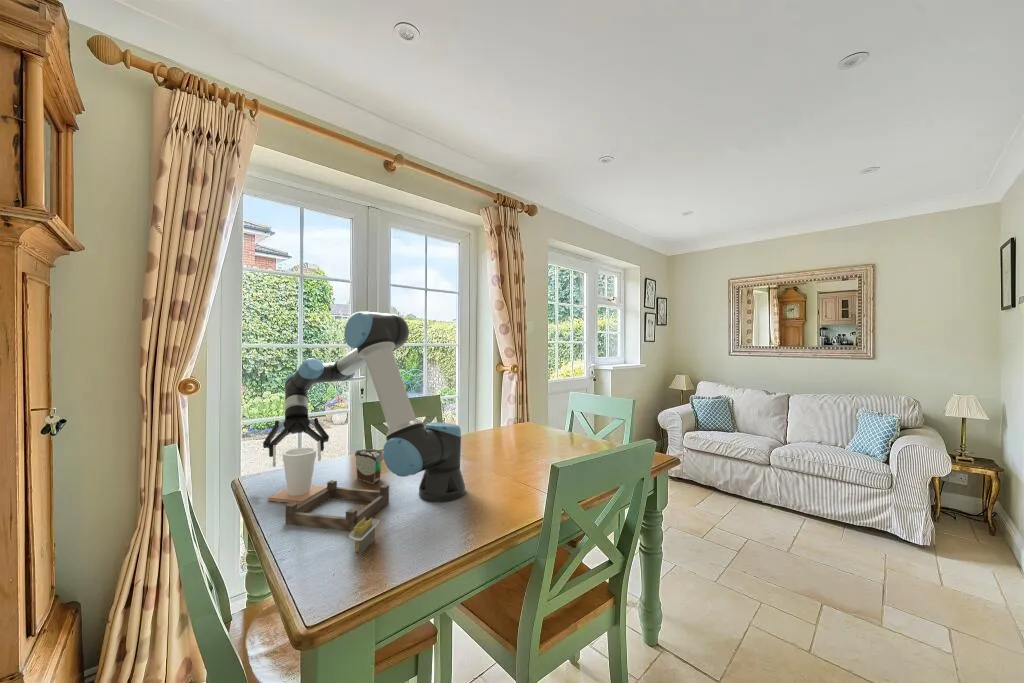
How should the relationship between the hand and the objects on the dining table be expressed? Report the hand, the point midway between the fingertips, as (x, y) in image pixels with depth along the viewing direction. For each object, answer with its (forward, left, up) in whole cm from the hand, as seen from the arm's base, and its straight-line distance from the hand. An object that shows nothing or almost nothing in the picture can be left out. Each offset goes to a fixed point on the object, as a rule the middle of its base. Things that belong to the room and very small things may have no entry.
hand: (297, 461), depth 135 cm
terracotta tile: (-6, +6, -9) cm, 12 cm away
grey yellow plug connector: (-43, +31, -9) cm, 53 cm away
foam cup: (-6, +6, -8) cm, 11 cm away
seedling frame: (-26, +14, -9) cm, 31 cm away
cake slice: (-21, -13, -9) cm, 26 cm away
